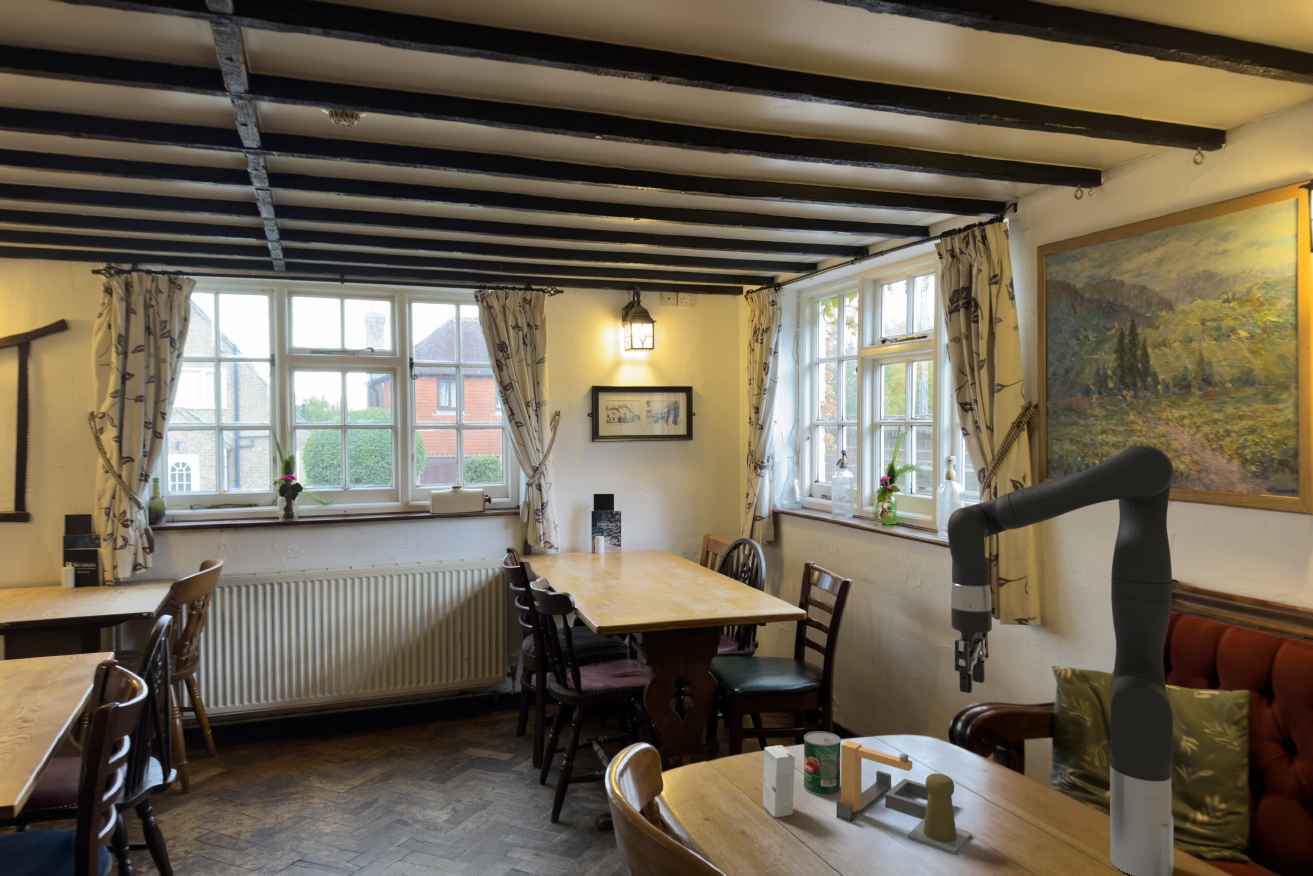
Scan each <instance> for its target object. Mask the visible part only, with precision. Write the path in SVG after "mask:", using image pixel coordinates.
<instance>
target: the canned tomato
mask: <svg viewBox="0 0 1313 876" xmlns="http://www.w3.org/2000/svg"><path fill="white" fill-rule="evenodd" d="M803 739H804V740H803V741H804V742H803V743H804V744H803V746H804V748H803V789H804V790H805V791H806V792H808V793H809V792H810V793H809V794H812V795H814V794H815V796H819V795H820V797H832V796H836V795H838V794H839V793H841V741H842V740H841V737H840V736H838V735H837V734H835V733H832V732H828V731H820V730H819V731H817V730H816V731H810V732H807V733H806V734H804V735H803Z"/></svg>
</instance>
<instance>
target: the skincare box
mask: <svg viewBox="0 0 1313 876" xmlns="http://www.w3.org/2000/svg"><path fill="white" fill-rule="evenodd" d="M763 755H764V756H763V758H764V759H763V783H762V785H763V786H762V804H763V806H764V808H765V809H766V810H767V811H768V813H770V814H771V815H772V816H773V818H774V817H775V818H781V817H782V818H783V817H787V816H792V815H793V813H794V811H793V810H794V790H795V789H794V786H795V785H794V784H795V782H794V781H795V762H796V761H795V758H796V757H795V755H794V754H792V753H791V751H790V750H788V748H786V747H785V746H784V745H781V744H779V745H773V746H765V747H764V753H763Z"/></svg>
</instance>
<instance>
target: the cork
mask: <svg viewBox="0 0 1313 876" xmlns="http://www.w3.org/2000/svg"><path fill="white" fill-rule="evenodd" d="M954 782H955V781H953V779H952V778H951V777H950V776H948V775H946V774H943V773H937V772H935V773H931V774H928V776H927V777H926V779H925V785H926V789H927V791H928V792H929V794H928V800H927V803H926V804H927V808H926V815H925V822H924V830H923V832H924V834H925V835H926V836H927V837H928V838H930V839H933V840H935V841H940V842H952V841H954V840H956V838H957V835H956V828H957V827H956V821H955V814H954V806H953V799H952V795H954V793H955V783H954Z"/></svg>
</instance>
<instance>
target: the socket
mask: <svg viewBox="0 0 1313 876" xmlns="http://www.w3.org/2000/svg"><path fill="white" fill-rule="evenodd" d="M928 794H929V792H928V791H927V789H926V784H924V783H922V782H921V783H920V782H918V781H915V780H910V779H907V778H903V779H902V780H901V781H899V782H898V783H897V784H896V785H894V786H893V787H891V789H890V790H888V791H887V792H886V793H885V794H884V799H885V800H884V804H885V805H884V806H885V807H886V808H889V809H892V810H895V811H898V812H901V813H905V814H908V815H910V816H913V817H917V818H920V819H922V820H923V819H924V818H925V815H926V808H927V803H923V802H920V801H917V800H914V799H910V798H908V797H906V796H907V795H910V796H914V797H917V798H921V799H924V800H927V801H928Z"/></svg>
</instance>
